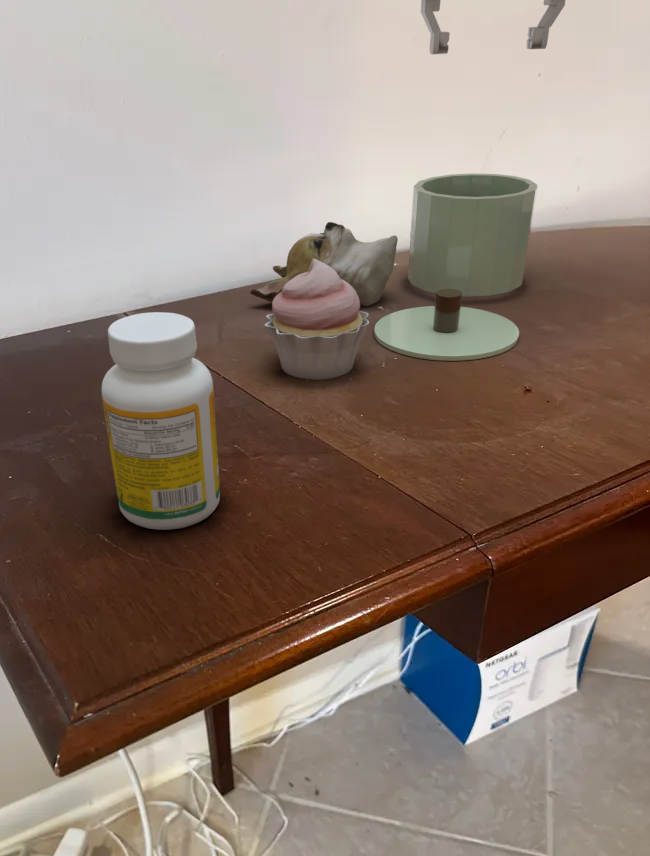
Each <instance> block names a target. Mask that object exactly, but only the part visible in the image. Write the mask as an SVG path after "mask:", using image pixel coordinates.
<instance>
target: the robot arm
mask: <svg viewBox="0 0 650 856" xmlns="http://www.w3.org/2000/svg"><path fill="white" fill-rule="evenodd" d="M542 4H543V5H544V6H548V7H547V8H546V10H545V11H544V13H543V16H541V19H540V20H539V22H538V24H537V26H530V27H528V30H527V37H528V38H527V40H526V49H527V50H546V49H547V46H548V41H549V33H550V28H551V27H552V26H553V24H554V23H555V22H556V20H557V18H558V17H559V15H560V13H561V11H562V10H563V9H564V7H565V6H566V0H543V2H542ZM440 8H441V0H421V1H420V14H421V16H422V18H423V20H424V23H425V25H426V28H427V30H428V32H429V33H430V37H429V38H430V39H429V54H430V55H446V54H448V53H449V44H448V43H449V41H450V34H451V33H450V32H449V31H441V30H442V29H441V28H440V25H439V23H438V20H437V18H436V16H435V12H436V13H437V12H439V11H440V10H441V9H440Z"/></svg>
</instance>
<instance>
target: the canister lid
mask: <svg viewBox="0 0 650 856" xmlns="http://www.w3.org/2000/svg"><path fill="white" fill-rule="evenodd" d="M434 298H435V300H434V305H427V306H417V307H410V308H405V309H401V310H398V311H394V312H391V313H388V314H386V315H384V316H383V317H381V318H379V320H378V321H377V322H376V323H375V325H374V328H373V335H374V339H375V340H376V342H378V344H379V345H381V346H383V347H384V348H385V349H387V350H390V351H392V352H394V353H397V354H400V355H402V356H403V355H404V356H407V357H411V358H417V359H423V360H430V361H431V360H432V361H442V362H443V361H444V362H445V361H446V362H449V361H450V362H456V361H457V362H459V361H461V362H462V361H474V360H480V359H481V360H482V359H485V358H490V357H494V356H498V355H501V354H503V353H505V352H507V351H509V350H511V349H512V348H514V347H515V346H516V345H517V343H518V342H519V338H520V330H519V328H518V326H517V324H516V323H514V322H513V321H512V320H510V319H508V318H507V317H505V316H503V315H500V314H497V313H494V312H491V311H488V310H485V309H479V308H474V307H467V306H462V301H463V300H462V299H463V296H462V292H461V291H459V290H455V289H442V290H439V291H437V292H436V293H435V297H434Z"/></svg>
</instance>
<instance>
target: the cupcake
mask: <svg viewBox="0 0 650 856" xmlns="http://www.w3.org/2000/svg"><path fill="white" fill-rule="evenodd" d="M271 303H272V304H271V310H272V313H269V314H267V315H265V318H266V319H267V322H266V323H265V324H264V327H265V329H266V330H267V332H268V334H269V335H270V337H271V339H272V340H273V343H274V345H275V347H276V352H277V355H278V358H279V362H280V366H281V369H282V371H284V373H286V374H287V375H289V376H292V377H295V378H298V379H305V380H316V381H317V380H328V379H333V378H334V379H335V378H338V377H341V376H343V375H346V374H348V373H349V372H351V371H352V369H353V367H354V363H355V360H356V356H357V352H358V349H359V347H360V343H361V341H362V339H363V336H364V335H365V332H366V330H367V329H368V327H369V324H370V320H368V317H369V316H370V314H369V313H368V312H366V311H362V310H360V309H361V303H360V301H359V297H358V295H357V293H356V291H355V290H354V288H353V287H352V286H351V285H350V284H349V283H347V282H346V281H344V280H342V279H341V278H340V277H339V275H338V274H337V273H336V271H335V270H334V269H332V268H331V267H330V266H328V265H326V264H324V263H322V262H320V261H318V260H316V259H313V260H312V262H311V264H310V267H309V272H305V273H302V274H300V275H297V276H296V277H294V278H293V279H291V280H290V281H289V282H287V283H286V284H285V286H284V288H283V290H282V292H280V293H279V294H278V295H277V296H276V297H275V298H274V299H273V302H271Z"/></svg>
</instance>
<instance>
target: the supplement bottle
mask: <svg viewBox="0 0 650 856" xmlns="http://www.w3.org/2000/svg"><path fill="white" fill-rule="evenodd" d="M107 339H108V347H109V354H110V356H111V359H112V361H113V363H114V365H113V366H112V367H110V368H109V369H108V371H107V372H106V373H105V374H104V377H103V379H102V382H101V388H100V389H101V400H102V408H103V412H104V420H105V425H106V431H107V437H108V438H107V439H108V446H109V452H110V459H111V465H112V471H113V476H114V483H115V490H116V496H117V499H118V501H117V502H118V507H119V511H120V513H122V515H123V516H124V517H125V519H126V520H128V521H129V522H130V523H132V524H134V525H136V526H139V527H141V528H145V529H150V530H156V531H157V530H158V531H169V530H177V529H184V528H188V527H191V526H193V525H196V524H198V523H200V522H202V521H203V520H205V519H207V518H209V516H210V515H212V514H213V513H214V511H215V510H216V509H217V507H218V506H219V504H220V499H221V490H220V489H221V487H220V486H221V485H220V471H219V470H220V469H219V468H220V467H219V455H218V440H217V439H218V437H217V423H216V405H215V390H214V389H215V388H214V380H213V376H212V374H211V372H210V370H209V368H208V367H207V366H206V365H205V364H204V363H203V362H202V361H200V360H199V359H197V358H195V356H196V352H197V349H198V342H197V334H196V326H195V323H194V321H193V319H191V318H190V317H188V316H185V315H183V314H179V313H175V312H165V311H163V312H162V311H161V312H160V311H153V312H152V311H151V312H142V313H135V314H132V315H128V316H124V317H121V318H119V319H117V320H115V321H114V322H112V323H111V324H110V325H109V327H108V329H107Z"/></svg>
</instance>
